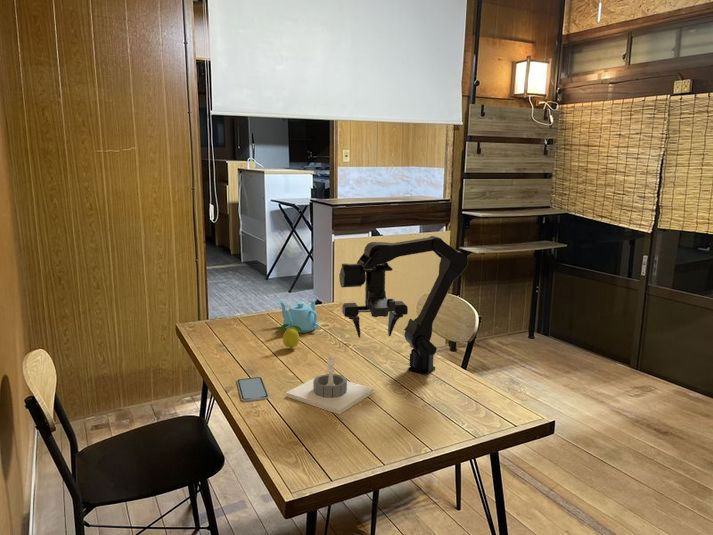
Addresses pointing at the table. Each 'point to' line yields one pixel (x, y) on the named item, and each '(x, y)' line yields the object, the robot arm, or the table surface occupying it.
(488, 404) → the table surface
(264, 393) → the smartphone
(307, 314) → the teapot
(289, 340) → the lemon
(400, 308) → the robot arm
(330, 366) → the chess piece
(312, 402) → the collar board
